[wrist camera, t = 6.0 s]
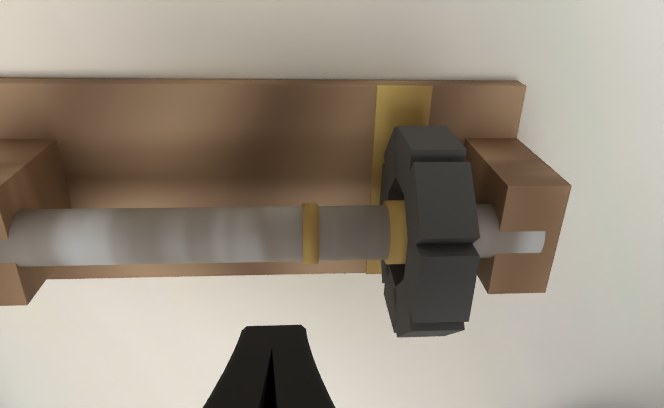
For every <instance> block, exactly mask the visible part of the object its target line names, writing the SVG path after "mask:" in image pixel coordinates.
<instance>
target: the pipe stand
mask: <svg viewBox="0 0 664 408" xmlns="http://www.w3.org/2000/svg"><path fill="white" fill-rule="evenodd" d="M525 90H526V86H525V85H524V84H522V83H520V82H519V81H444V80H268V79H92V78H0V306H9V305H28V304H29V302H30V301H31V299H32V298H33V297H34V295H35V294H36V293H37V291H38V290H39V289H40V287H41V286H42V284H43V283H44V282H45V280H46V279H84V278H132V277H180V276H228V275H275V274H323V273H366V274H382V270H381V260H384V262H385V263H386V264H405V262H406V252H407V242H408V237H407V224H406V212H405V200H392V201H384V203H383V205H380V191H381V176H382V164H385V162H384V153H385V150H386V148H387V145H388V142H389V140H390V137H391V135H392V132H393V130H394V127H397V126H447V127H448V128H449V130H450V131H451V132H452V133H453V134H454V135H455V137H456V138H457V139H458V140H459V141H460V143H461V144H462V145H463V146H464V147H465V148H466V157H465V162H471V170H472V177H473V185H474V193H475V201H476V209H477V217H478V224H479V232H480V238H479V239H478V240H477V241H475V242H474V243H473V245H474V247H475V249H476V250H477V252H478V254H479V255H480V259H479V265H478V270H477V275H478V277H479V279H480V281H481V282H482V284H483V286H484V288H485V289H486V291H487V293H488V294H504V293H545V291H546V287H547V283H548V279H549V275H550V271H551V267H552V263H553V259H554V255H555V251H556V247H557V243H558V239H559V235H560V231H561V226H562V222H563V218H564V214H565V210H566V206H567V202H568V198H569V194H570V190H571V185H570V184H569V183H568V182H567V181H566V180H564V179H563V178H562V177H561V176H560V175H559V174H558V173H556V172H555V171H554V170H553V169H552V168H551V167H549V166H548V165H547V164H546V163H545V162H544V161H542V160H541V159H540V158H539V157H538V156H537V155H536V154H534V153H533V152H532V151H531V150H530V149H529V148H527V147H526V146H525V145H524V144H523V143H522V142H520V141H519V140H518V139H517V133H518V128H519V122H520V117H521V112H522V106H523V101H524V96H525Z"/></svg>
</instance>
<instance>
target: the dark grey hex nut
mask: <svg viewBox="0 0 664 408" xmlns="http://www.w3.org/2000/svg"><path fill="white" fill-rule="evenodd" d="M465 157H466V148H465V147H464V146H463V145H462V144H461V143H460V141H459V140H458V139H457V138H456V137H455V135H454V134H453V133H452V132H451V131H450V130H449V128H448V127H447V126H397V127H394V130H393V132H392V135H391V137H390V140H389V142H388V145H387V148H386V150H385V153H384V162H385V164H382V176H381V191H380V205H383V203H384V201H392V200H405V212H406V224H407V237H408V242H407V252H406V262H405V264H386V263H385V262H384V260H381V270H382V283H385V287H384V296H385V300H386V304H387V308H388V311H389V315H390V319H391V323H392V327H393V330H394V333H397V337H426V336H446V335H449V334H453V333H456V332H459V331H462V330H465V329H464V322H469V317H470V311H471V305H472V299H473V294H474V288H475V282H476V276H477V270H478V265H479V259H480V255H479V254H478V252H477V250H476V249H475V247H474V245H473V243H474V242H475V241H477V240H478V239H479V238H480V232H479V224H478V217H477V209H476V201H475V193H474V185H473V177H472V170H471V162H465Z"/></svg>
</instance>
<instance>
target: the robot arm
mask: <svg viewBox="0 0 664 408" xmlns="http://www.w3.org/2000/svg"><path fill="white" fill-rule="evenodd" d="M203 408H335V406H334V404H333V402H332V400H331V398H330V396H329V394H328V392H327V389H326V387H325V385H324V383H323V381H322V379H321V376H320V374H319V372H318V369H317V367H316V364H315V361H314V359H313V356H312V353H311V350H310V346H309V343H308V339H307V334H306V329H305V328H304V327H303V326H302V325H277V326H247V327H245V328H244V329H243V330H242V332H241V335H240V338H239V340H238V343H237V345H236V347H235V350H234V352H233V354H232V356H231V358H230V360H229V362H228V364H227V366H226V368H225V370H224V372H223V374H222V376H221V377H220V379H219V381H218V383H217V384H216V386H215V388H214V390H213V392H212V393H211V395H210V397H209V398H208V400H207V402H206V403H205V405H204V406H203Z"/></svg>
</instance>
